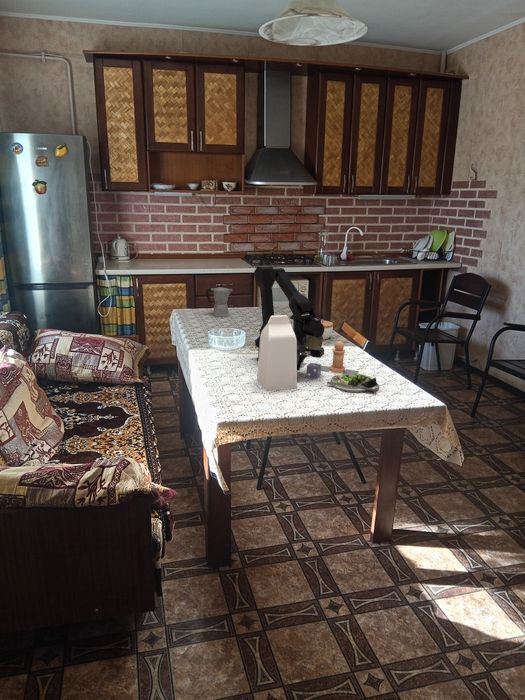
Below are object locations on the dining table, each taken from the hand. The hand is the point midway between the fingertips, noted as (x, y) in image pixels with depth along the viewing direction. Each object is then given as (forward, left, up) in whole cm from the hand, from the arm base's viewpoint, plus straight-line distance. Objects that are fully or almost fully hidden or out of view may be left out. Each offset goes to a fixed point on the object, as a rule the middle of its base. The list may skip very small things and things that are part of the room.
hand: (298, 370), depth 212 cm
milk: (-14, -7, -2) cm, 15 cm away
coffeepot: (+10, +103, -2) cm, 104 cm away
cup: (+20, +20, -2) cm, 29 cm away
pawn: (+16, -4, -1) cm, 17 cm away
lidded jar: (+38, +41, -2) cm, 56 cm away
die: (+4, -5, -1) cm, 6 cm away
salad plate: (+13, -20, -2) cm, 24 cm away
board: (+13, +1, -1) cm, 13 cm away
